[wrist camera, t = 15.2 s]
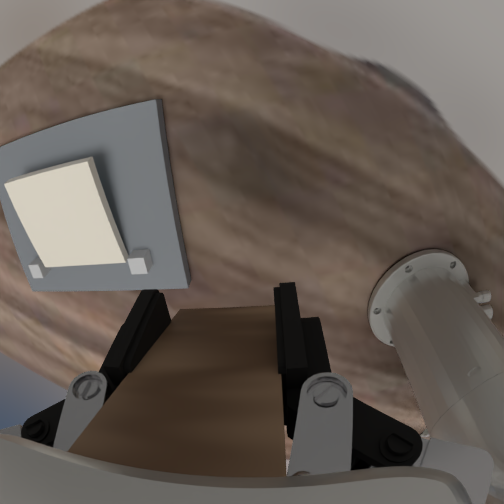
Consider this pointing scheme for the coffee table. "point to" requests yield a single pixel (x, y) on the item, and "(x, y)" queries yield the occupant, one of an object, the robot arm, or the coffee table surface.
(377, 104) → the coffee table surface
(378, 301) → the robot arm
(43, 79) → the coffee table surface
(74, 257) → the tile
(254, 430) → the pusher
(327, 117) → the coffee table surface
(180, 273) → the board
